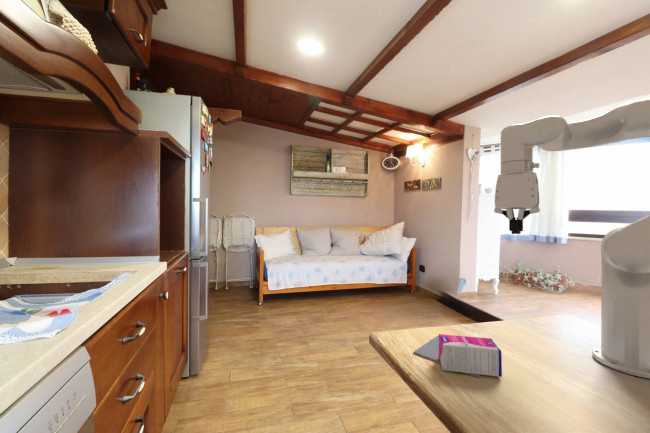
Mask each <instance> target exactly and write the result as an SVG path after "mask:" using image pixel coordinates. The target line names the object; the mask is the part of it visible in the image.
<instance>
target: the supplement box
mask: <svg viewBox="0 0 650 433" xmlns="http://www.w3.org/2000/svg"><path fill="white" fill-rule="evenodd" d="M438 335H439V360H440V363H441V364H440V363H439V364H440V367H441V368H442V371H447V372H458V373H464V374H466V373H472V374H480V376H491V377H498V378H499V377H501V378H502V377H503V368H502V366H503V364H502V363H503V362H502V360H503V359H502V350H501V349H500V348H499V347H498V345H497V344H496V342H495V341H494V339H492V338H489V337H478V336H467V335H466V336H464V335H455V334H454V335H452V334H443V333H442V334H440V333H439V334H438Z"/></svg>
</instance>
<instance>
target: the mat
mask: <svg viewBox="0 0 650 433" xmlns="http://www.w3.org/2000/svg"><path fill="white" fill-rule="evenodd" d="M413 354H415V355H417V356H419V357H421V358H422V357H423V358H425V359H427V360H431V361H433V362H435V363H437V364H440V365H441V363H440V360H439V334H438V335H436V336H435V337H433V338H432V339H430V340H429V341H427V342H426V343H424V344H423V345H422V346H420V347H419V348H417V349H415V350H413ZM465 374H467V375H470V376H472V377H475V378H479V377H480V376H481V374H472V373H465Z"/></svg>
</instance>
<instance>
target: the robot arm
mask: <svg viewBox="0 0 650 433" xmlns="http://www.w3.org/2000/svg"><path fill="white" fill-rule="evenodd" d="M649 137H650V97H646V98H642V99H640V98H639V99H636V100H634V99H633V100H630V101H627V102H625V103H623V104H620V105H619V106H617V107H615V108H613V109H612V110H610V111H607V112H606V113H604V114H601V115H599V116H595V117H593V118H589V119H585V120H580V121H575V122H574V121H573V122H567V120H566V119H565V118H564V117H562V116H559V115H554V114H553V115H547V116H543V117H540V118H538V119H534V120H532V121H529V122H523V123H516V124H510V125H508V126H505V127H504V128H502V130H501V132H500V174H498V175H497V179H496V183H495V191H494V192H495V193H494V206H495V207H494V210H493V211H494V213H496V214H501V215H503V216H505V217H506V218H507V219H508V222H509V224H508V227H509V229H508V230H509V231H510V232H511V234H512V235H515V234H516V235H520V234H521V232H524V231H523V230H524V220H525V219H526V218H527V217H528V216H530V215H533V214H536V213H540V212H541V210H540V206H539V205H540V190H539V189H540V188H539V187H540V186H539V179H538V176H537V172H534V170H535V169H539V168H540V163H539V162H534V161H533V159H534V158H533V156H534V155H533V152H534V151H533V147H536V146H537V147H539V148H540V149H541V150H544V151H547V152H563V151H570V150H578V149H579V150H580V149H586V148H592V147H597V146H598V147H599V146H602V145H608V144H614V143H619V142H624V141H627V140H633V139H642V138H643V139H644V138H649ZM514 210H518V213H517V217H516V216H515V211H514ZM600 255H601V258H600V259H601V262H600V265H601V299H600V302H601V304H600V305H601V306H600V307H601V309H600V310H601V315H600V316H601V317H600V318H601V319H600V320H601V323H600V324H601V326H600V329H601V330H600V334H601V335H600V336H601V337H600V338H601V339H600V340H601V343H600V345H601V347H595V348H593V349H592V350H591V351H592V354H591V355H592V357H593V359H595V360H596V361H598V363H601V364H602V365H604V366H607V367H608V368H611V369H613V370H616V371H619V372H622V373H623V374H628V375H631V376H636V377H639V378H645V379H648V380H649V379H650V214H648V215H646V216H644V217H642V218H640V219H638V220H635V221H634V222H631V223H629V224H628V225H625V226H622V227H621V226H619V227H617V228H615V229H611V230H610V231H609V232H608V233H606V234H605V236H604V237H603V238H602V241H601V244H600Z"/></svg>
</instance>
